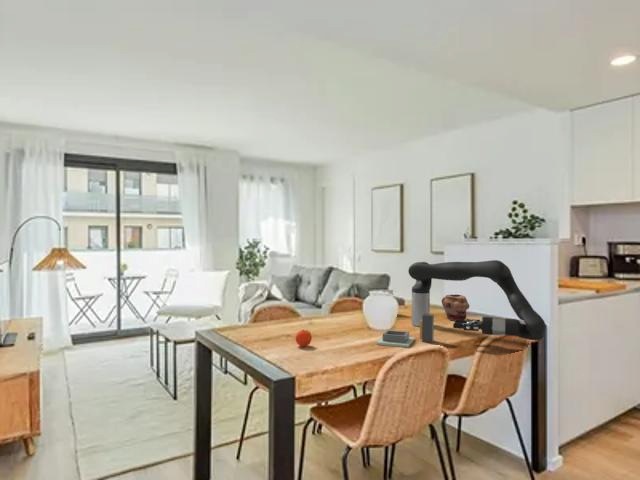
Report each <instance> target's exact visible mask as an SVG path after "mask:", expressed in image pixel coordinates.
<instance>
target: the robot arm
mask: <svg viewBox="0 0 640 480" xmlns="http://www.w3.org/2000/svg"><path fill="white" fill-rule="evenodd" d="M407 271H408V274H409V277H411V279H413V280H415V284H414V285H413V286H412V287H411V325H412V326H415V327H420V321H421V320H422V315H423V314H431V313H430V309H431V308H430V307H431V306H430V304H431V303H430V301H431V299H430V296H431V295H430V293H431V288H432V282H433V280H444V281H456V282H458V281H460V282H461V281H463V282H464V281H467V280H469V279H472V278H476V277H477V278H488V279H490V280H491V281H492V282H493V283H496V284H497V285H498V286H499V287H500V288H501V290H502V291H503V292H504V294H505V295H506V297H507V300H508V303H509V305H510V307H511V309H512V310H513V312H514V313H515V315H516V317H518V319H519V320H518V319H516V318H504V317H498V316H497V317H494V316H482V317H481V320H480V319H479V318H478V319H477V318H476V319H473V318H466V319H465V320H457V319H456V320H455V321H454V322H453V325H452V327H453V329H461V330H463V331H469V332H472V331H473V332H479V331H480V330H481V334H482V335H484V336H486V335H487V336H511V337H518V338H522V339H525V340H529V341H540V340H542V339H543V338H544V337H545V335H546V328H547V326H546V322H545V320H544V318H543V317H542V316H540V314H539V313H538V312H537V311H536V310H535V309H534V308H533V306H532V304H531V303H530V302H529V301H528V300H527V298H526V297H525V295H524V294H523V292H522V291H521V290H520V288H519V285H518V284H517V282H516V281H515V278H514V277H513V273H512V272H511V269H510V268H509V266H507V265H506V264H505V263H504V262H503V261H500V260H497V259H494V260H485V261H448V262H447V261H446V262H440V263H428V262H426V261H420V262H419V261H418V262H413V263H412V264H411V265H410V266H409V267H408V270H407ZM432 279H433V280H432ZM520 320H521V321H523V322H524V323H521V321H520Z"/></svg>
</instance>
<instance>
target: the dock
mask: <svg viewBox="0 0 640 480" xmlns="http://www.w3.org/2000/svg"><path fill="white" fill-rule="evenodd" d="M415 340H416V337H415V336H410V331H402V330H390V329H389V330H388V329H387V330H386V331H384V332H383V333H382V337H380V338H379V339H378V340H377V341H376V342H375V343H376V344H375V345H376V346H387V347H397V348H398V347H399V348H409V347H411V345H412V344H413V342H414V341H415Z"/></svg>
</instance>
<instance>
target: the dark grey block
mask: <svg viewBox="0 0 640 480" xmlns="http://www.w3.org/2000/svg"><path fill="white" fill-rule="evenodd" d="M434 315H435V314H434V313H430V314H423V315H422V320H421V321H420V326H419V339H420V340H422V341H421V342H422V343H431V344H432V343H433V342H434V340H435V339H434V336H435V335H434V333H435V331H434V330H435V329H434V326H435V324H434V322H435V318H434Z"/></svg>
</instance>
